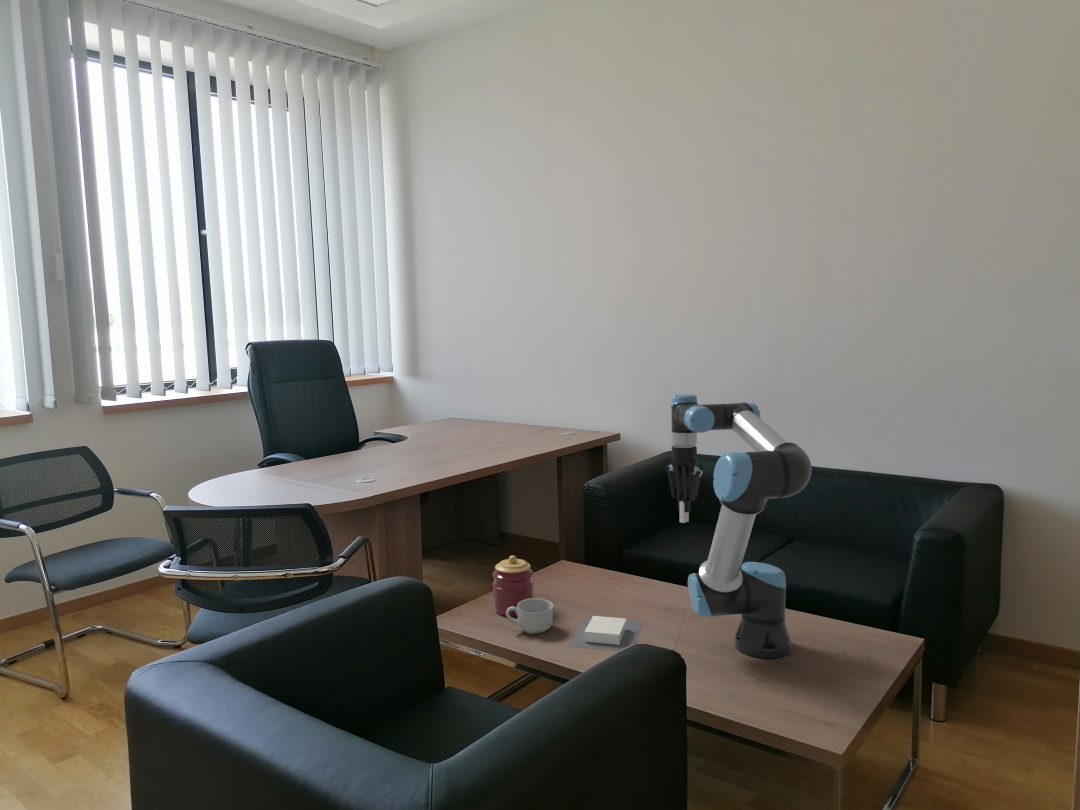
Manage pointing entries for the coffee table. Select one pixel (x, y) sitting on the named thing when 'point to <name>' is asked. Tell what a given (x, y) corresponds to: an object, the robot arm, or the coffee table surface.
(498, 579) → the canister
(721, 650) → the coffee table surface
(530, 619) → the teacup
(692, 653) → the coffee table surface
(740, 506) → the robot arm
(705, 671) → the coffee table surface
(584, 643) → the mat
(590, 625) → the tile
